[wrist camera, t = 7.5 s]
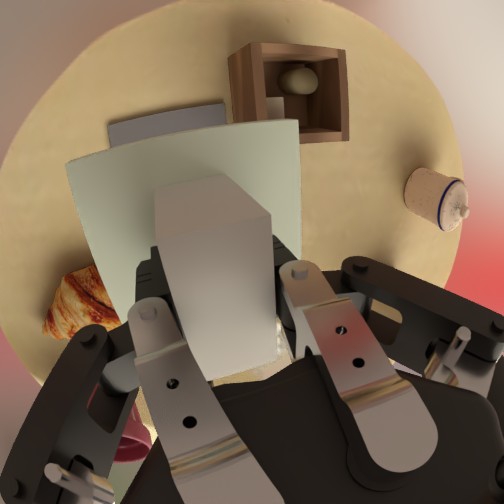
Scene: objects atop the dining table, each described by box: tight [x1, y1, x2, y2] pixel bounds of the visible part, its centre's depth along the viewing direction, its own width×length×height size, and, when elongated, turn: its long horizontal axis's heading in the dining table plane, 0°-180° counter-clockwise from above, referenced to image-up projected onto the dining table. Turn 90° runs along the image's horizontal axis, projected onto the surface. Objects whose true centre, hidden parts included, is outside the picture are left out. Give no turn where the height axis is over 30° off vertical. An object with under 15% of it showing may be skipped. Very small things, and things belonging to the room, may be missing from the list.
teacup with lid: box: [404, 168, 469, 231], centre depth 39 cm, size 12×9×12 cm
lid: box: [65, 119, 301, 381], centre depth 11 cm, size 10×10×7 cm
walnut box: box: [228, 43, 349, 144], centre depth 26 cm, size 10×10×8 cm
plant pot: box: [87, 384, 152, 463], centre depth 38 cm, size 14×14×13 cm
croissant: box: [42, 265, 122, 340], centre depth 32 cm, size 21×10×8 cm, turn 114°
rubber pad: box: [107, 103, 227, 148], centre depth 30 cm, size 13×12×1 cm
